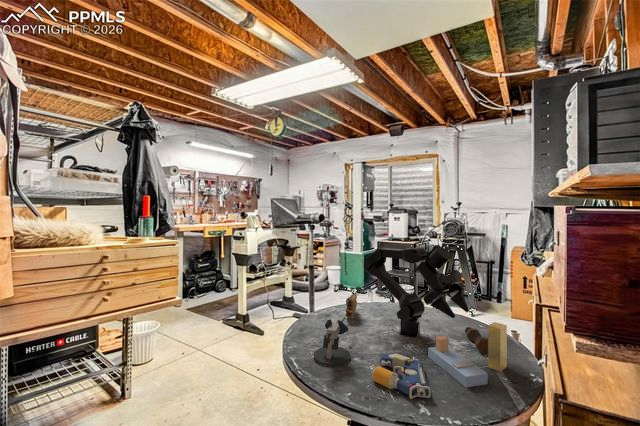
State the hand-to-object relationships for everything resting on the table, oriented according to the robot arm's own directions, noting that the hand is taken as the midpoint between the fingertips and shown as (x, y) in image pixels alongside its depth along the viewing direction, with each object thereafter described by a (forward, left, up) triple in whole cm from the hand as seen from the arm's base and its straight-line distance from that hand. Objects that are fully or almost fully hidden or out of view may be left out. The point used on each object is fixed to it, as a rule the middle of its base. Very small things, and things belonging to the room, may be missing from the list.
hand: (461, 314), depth 103 cm
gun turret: (-37, -21, -14) cm, 45 cm away
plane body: (-1, -12, -13) cm, 18 cm away
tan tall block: (+10, -4, -13) cm, 17 cm away
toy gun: (-14, -25, -14) cm, 32 cm away
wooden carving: (-48, +14, -14) cm, 51 cm away
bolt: (+4, +12, -14) cm, 18 cm away
